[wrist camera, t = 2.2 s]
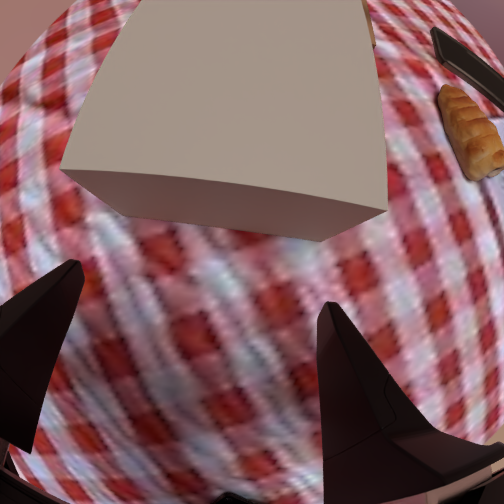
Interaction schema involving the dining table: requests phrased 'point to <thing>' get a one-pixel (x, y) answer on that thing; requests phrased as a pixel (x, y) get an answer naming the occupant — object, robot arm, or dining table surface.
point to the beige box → (237, 118)
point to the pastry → (471, 134)
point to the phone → (468, 67)
